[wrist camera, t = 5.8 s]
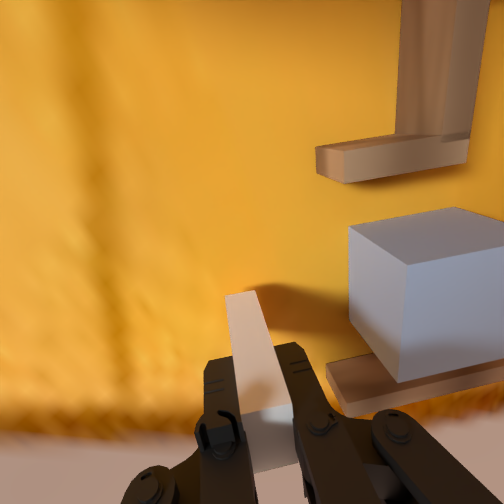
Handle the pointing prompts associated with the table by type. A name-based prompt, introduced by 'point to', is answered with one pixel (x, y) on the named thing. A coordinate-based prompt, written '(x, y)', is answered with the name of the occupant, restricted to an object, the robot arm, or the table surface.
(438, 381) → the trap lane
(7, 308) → the table surface
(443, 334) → the block
